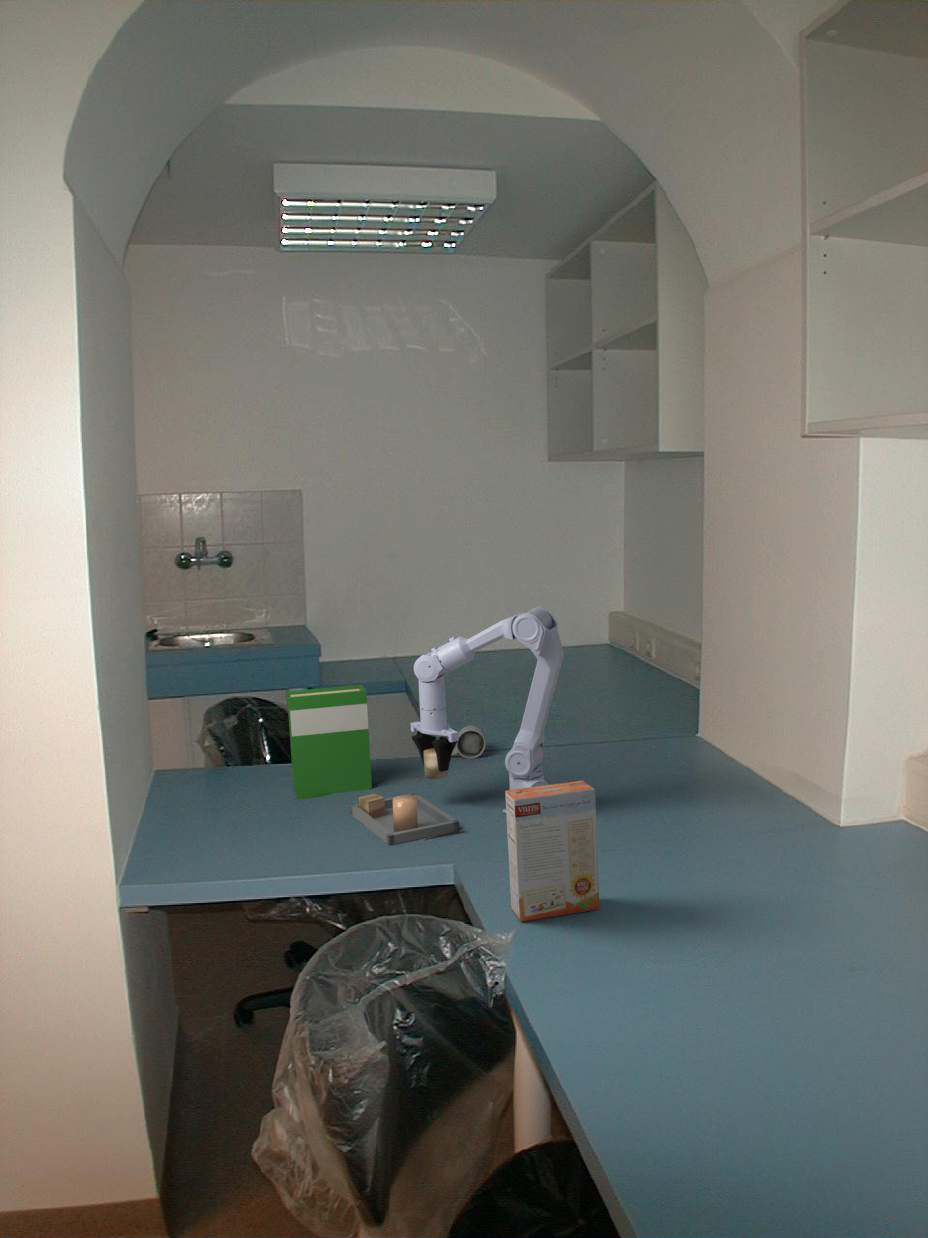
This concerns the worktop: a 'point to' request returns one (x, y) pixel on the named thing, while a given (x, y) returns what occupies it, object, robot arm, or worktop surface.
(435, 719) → the robot arm
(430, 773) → the beige oval piece
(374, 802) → the oak cube
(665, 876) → the worktop surface
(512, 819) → the cracker box
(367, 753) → the hardback book
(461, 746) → the ceramic mug
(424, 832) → the tray
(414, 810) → the tan rounded cylinder
